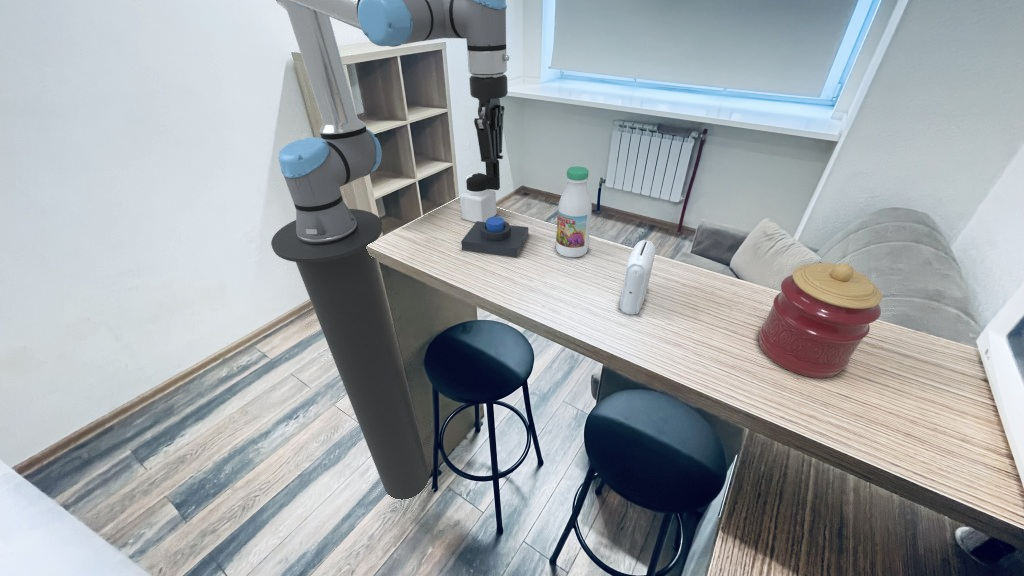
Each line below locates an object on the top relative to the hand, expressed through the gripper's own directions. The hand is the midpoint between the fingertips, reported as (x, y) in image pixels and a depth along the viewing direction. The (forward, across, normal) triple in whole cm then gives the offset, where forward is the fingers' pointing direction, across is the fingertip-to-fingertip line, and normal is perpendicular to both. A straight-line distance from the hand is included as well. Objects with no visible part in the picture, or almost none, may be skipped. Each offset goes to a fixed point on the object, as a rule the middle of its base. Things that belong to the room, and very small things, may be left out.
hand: (493, 188), depth 94 cm
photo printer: (+15, -15, -34) cm, 40 cm away
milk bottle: (+15, +1, -19) cm, 24 cm away
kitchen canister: (+15, -23, -62) cm, 68 cm away
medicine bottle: (+15, +13, +9) cm, 21 cm away
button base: (+14, 0, 0) cm, 14 cm away
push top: (+10, 0, 0) cm, 10 cm away
